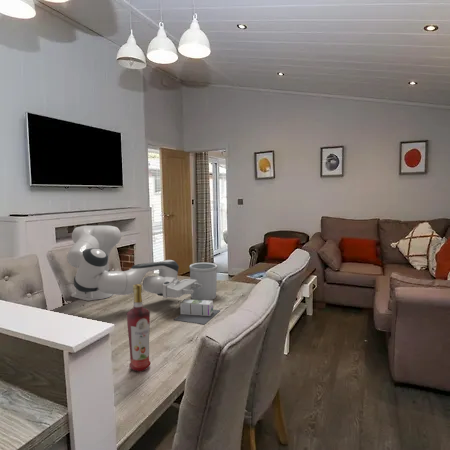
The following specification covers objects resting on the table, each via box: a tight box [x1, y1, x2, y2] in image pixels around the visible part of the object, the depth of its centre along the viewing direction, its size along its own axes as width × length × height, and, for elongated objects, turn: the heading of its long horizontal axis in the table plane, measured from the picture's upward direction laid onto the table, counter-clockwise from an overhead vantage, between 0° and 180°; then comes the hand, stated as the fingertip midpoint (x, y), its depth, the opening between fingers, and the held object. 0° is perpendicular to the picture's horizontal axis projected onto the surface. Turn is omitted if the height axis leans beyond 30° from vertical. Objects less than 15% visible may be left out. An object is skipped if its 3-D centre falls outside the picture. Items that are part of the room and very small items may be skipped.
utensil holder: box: [189, 262, 218, 301], centre depth 190 cm, size 15×15×18 cm
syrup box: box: [179, 298, 214, 316], centre depth 165 cm, size 6×6×14 cm
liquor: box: [126, 283, 152, 372], centre depth 114 cm, size 7×7×28 cm
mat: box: [173, 309, 221, 326], centre depth 163 cm, size 15×18×1 cm
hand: (197, 289), depth 167 cm, fingers open, 8 cm apart
